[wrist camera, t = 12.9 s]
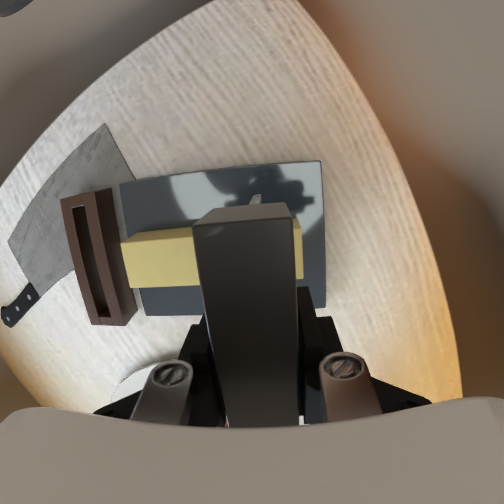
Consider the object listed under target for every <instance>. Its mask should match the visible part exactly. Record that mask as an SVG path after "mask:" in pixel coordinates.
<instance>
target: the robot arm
mask: <svg viewBox="0 0 504 504" xmlns="http://www.w3.org/2000/svg"><path fill="white" fill-rule="evenodd" d="M297 310H298V342H299V416H303V419H304V424H309V425H297V426H282V427H257V428H219V427H225V424H226V415H225V411H224V406H223V402H222V397H221V393H220V388H219V383H218V379H217V374H216V369H215V364H214V359H213V354H212V349H211V344H210V339H209V334H208V328H207V323H206V317H205V312H204V313H203V316H202V318H201V321H200V324H193V325H191V327H190V330H189V332H188V334H187V337H186V339H185V342H184V344H183V346H182V349H181V351H180V354H179V356H178V359H177V360H169V361H165V362H162V363H160V364H158V365H157V366H155V367H154V368H153V369H152V370H151V372H150V374H149V376H148V378H147V380H146V383H145V385H144V387H143V389H142V390H139V391H137V392H135V393H133V394H131V395H129V396H127V397H124V398H122V399H120V400H118V401H116V402H113V403H111V404H109V405H107V406H104V407H102V408H100V409H98V410H97V411H95V412H94V413H93V414H90V413H84V412H79V411H73V410H68V409H61V408H54V407H34V408H26V409H21V410H18V411H15V412H13V413H12V414H10V415H9V416H8V417H7V418H6V419H5V420H4V421H3V422H2V423H1V424H0V504H504V399H500V398H494V397H467V398H457V399H452V400H447V401H441V402H437V403H432V402H430V401H429V400H428V399H426V398H424V397H422V396H419V395H416V394H414V393H411V392H408V391H406V390H403V389H401V388H398V387H395V386H393V385H390V384H388V383H385V382H383V381H380V380H378V379H375V378H373V377H371V376H370V373H369V370H368V367H367V364H366V362H365V361H364V359H363V358H361V357H360V356H359V355H356V354H354V353H350V352H343V349H342V346H341V343H340V340H339V337H338V334H337V331H336V328H335V325H334V322H333V319H332V317H331V316H326V317H317V316H316V313H315V309H314V305H313V302H312V298H311V294H310V291H309V287H308V286H301V287H297Z"/></svg>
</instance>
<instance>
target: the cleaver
mask: <svg viewBox="0 0 504 504" xmlns="http://www.w3.org/2000/svg"><path fill="white" fill-rule="evenodd" d="M131 181H136V179H135V178H134V176H133V174H132V172H131V170H130V169H129V167H128V165H127V163H126V161H125V159H124V158H123V156H122V154H121V152H120V150H119V148H118V146H117V145H116V143H115V141H114V139H113V137H112V135H111V133H110V131H109V129H108V128H107V126H106V124H105V123H104V124H103V125H102V126H101V127H100V128H99V129H97V130H96V131H95V132H94V133H93V134H92V135H91V136H90V137H88V138H87V139H86V140H85V141H84V142H83V143H82V144H81V145H80V146H79V147H78V148H77V149H75V150H74V151H73V152H72V153H71V154H70V155H69V156H68V158H67V159H66V160H65V161H64V162H63V163H62V164H61V165H60V166H59V167H58V169H57V170H56V171H55V172H54V173H53V174H52V175H51V177H50V178H49V179H48V180H47V182H46V183H45V184H44V185H43V187H42V188H41V189H40V191H39V192H38V193H37V195H36V196H35V198H34V199H33V200H32V202H31V203H30V205H29V206H28V208H27V209H26V211H25V212H24V214H23V216H22V217H21V219H20V221H19V222H18V224H17V226H16V228H15V229H14V231H13V233H12V235H11V236H10V238H9V240H8V241H7V242H8V244H9V247H10V249H11V251H12V253H13V255H14V256H15V258H16V260H17V262H18V264H19V266H20V267H21V269H22V271H23V273H24V274H25V276H26V278H27V279H28V281H29V283H28V285H27V286H26V287H25V288H24V290H23V291H22V292H21V293H20V295H19V296H18V297H17V298H16V300H15V301H14V302H13V303H12V304H11V305H9V306H8V307H4V306H2V307H1V319H2V320H3V322H4V324H5V325H7V326H8V327H10V328H11V327H13V326H14V325H15V324H16V323H17V322H18V321H19V320H20V319H21V318H22V317H23V316H24V315H25V314H26V312H27V311H28V310H29V309H30V308H31V307H32V306H33V305H34V304H35V303H36V302H37V301H38V300H39V299H40V298H41V296H42V295H43V294H44V293H45V292H46V291H48V290H49V289H50V288H51V287H52V286H53V285H54V284H55V283H56V282H57V281H59V280H60V279H61V278H63V277H64V276H65V275H67V274H68V273H70V272H71V271H72V270H74V265H73V261H72V257H71V253H70V248H69V244H68V240H67V235H66V230H65V225H64V220H63V215H62V209H61V204H60V199H63V198H67V197H70V196H74V195H77V194H82V193H86V192H91V191H96V190H101V189H106V188H112V194H113V201H114V207H115V213H116V219H117V225H118V230H119V235H120V241H121V243H122V242H123V241H125V240H127V239H128V235H127V230H126V225H125V219H124V213H123V207H122V201H121V194H120V187H119V184H120V183H125V182H131Z"/></svg>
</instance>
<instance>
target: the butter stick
mask: <svg viewBox="0 0 504 504" xmlns="http://www.w3.org/2000/svg"><path fill="white" fill-rule="evenodd" d="M191 228H192V227H186V228H176V229H166V230H156V231H147V232H138V233H136V234H134V235H133V236H131V237H130V238H128V239H127V240H125V241H123V242H122V243H121V249H122V254H123V259H124V263H125V268H126V272H127V276H128V280H129V284H130V288H144V287H169V286H191V285H200V282H199V276H198V270H197V263H196V257H195V250H194V243H193V236H192V229H191Z"/></svg>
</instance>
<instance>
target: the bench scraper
mask: <svg viewBox="0 0 504 504" xmlns="http://www.w3.org/2000/svg"><path fill="white" fill-rule="evenodd" d="M191 229H192V236H193V243H194V250H195V257H196V263H197V270H198V276H199V282H200V288H201V294H202V300H203V306H204V312H205V317H206V323H207V328H208V334H209V339H210V344H211V349H212V354H213V359H214V364H215V369H216V374H217V379H218V383H219V388H220V393H221V397H222V402H223V406H224V411H225V415H226V419H227V424H228V428H257V427H282V426H297V425H299V342H298V310H297V285H296V265H295V247H294V230H293V219H292V217H291V214H290V212H289V210H288V207H287V205H286V203H285V202H278V203H265V204H262V198H261V194H258V195H253V197H252V199H251V201H250V203H249V205H242V206H231V207H221V208H213V209H212V210H210V211H209V212H208V213H207V214H206V215H204V216H203V217H202V218H201V219H200V220H198V221H197V222H196V223H195V224H194V225H192V228H191Z"/></svg>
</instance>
